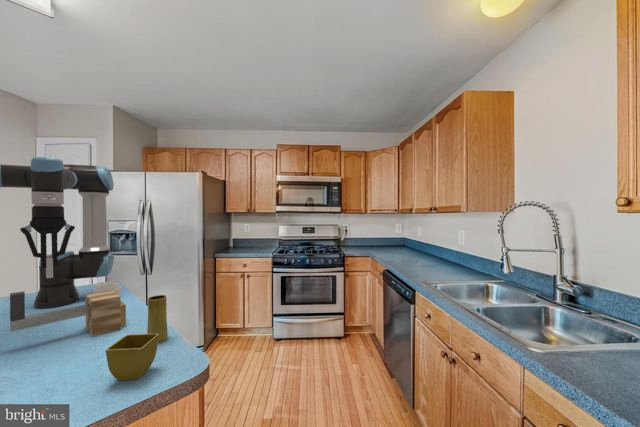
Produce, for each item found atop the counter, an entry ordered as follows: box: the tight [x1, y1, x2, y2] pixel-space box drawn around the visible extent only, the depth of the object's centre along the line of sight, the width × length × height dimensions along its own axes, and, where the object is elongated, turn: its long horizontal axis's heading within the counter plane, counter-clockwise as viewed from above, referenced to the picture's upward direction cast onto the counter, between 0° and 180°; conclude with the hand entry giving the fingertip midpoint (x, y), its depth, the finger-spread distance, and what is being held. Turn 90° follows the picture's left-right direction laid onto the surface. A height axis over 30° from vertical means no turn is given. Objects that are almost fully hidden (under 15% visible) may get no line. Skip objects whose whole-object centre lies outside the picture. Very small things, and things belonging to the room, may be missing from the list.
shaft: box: [9, 290, 90, 332], centre depth 93 cm, size 3×25×11 cm, turn 139°
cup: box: [93, 280, 122, 297], centre depth 117 cm, size 9×9×12 cm
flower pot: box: [105, 333, 159, 382], centre depth 72 cm, size 9×9×9 cm
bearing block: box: [85, 290, 122, 338], centre depth 100 cm, size 12×8×12 cm, turn 48°
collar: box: [120, 300, 127, 328], centre depth 104 cm, size 7×2×8 cm, turn 49°
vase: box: [146, 294, 169, 344], centre depth 91 cm, size 6×6×14 cm
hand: (49, 277), depth 90 cm, fingers closed
